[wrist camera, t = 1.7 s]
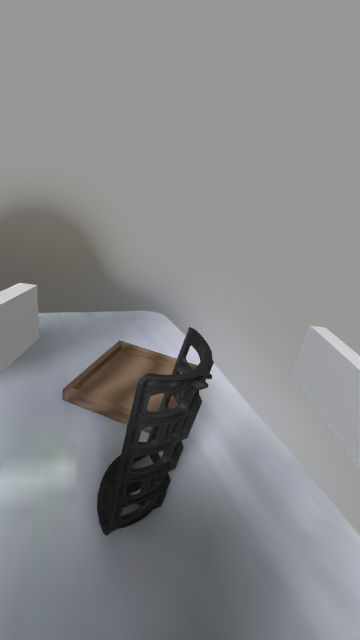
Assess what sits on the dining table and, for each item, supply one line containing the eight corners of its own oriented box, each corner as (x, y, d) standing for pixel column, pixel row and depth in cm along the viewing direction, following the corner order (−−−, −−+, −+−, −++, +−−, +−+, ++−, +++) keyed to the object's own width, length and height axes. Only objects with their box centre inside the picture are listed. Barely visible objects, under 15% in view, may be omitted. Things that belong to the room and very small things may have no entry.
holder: (119, 439, 37) (151, 312, 28) (171, 456, 37) (219, 334, 28) (81, 528, 27) (114, 373, 18) (153, 551, 27) (219, 407, 18)
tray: (62, 399, 42) (62, 389, 41) (118, 348, 58) (119, 340, 57) (169, 440, 39) (172, 430, 38) (198, 374, 55) (200, 366, 54)
